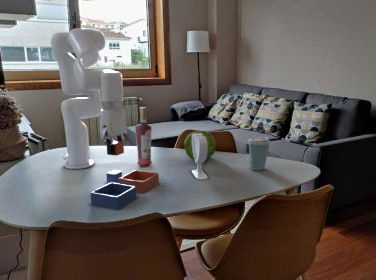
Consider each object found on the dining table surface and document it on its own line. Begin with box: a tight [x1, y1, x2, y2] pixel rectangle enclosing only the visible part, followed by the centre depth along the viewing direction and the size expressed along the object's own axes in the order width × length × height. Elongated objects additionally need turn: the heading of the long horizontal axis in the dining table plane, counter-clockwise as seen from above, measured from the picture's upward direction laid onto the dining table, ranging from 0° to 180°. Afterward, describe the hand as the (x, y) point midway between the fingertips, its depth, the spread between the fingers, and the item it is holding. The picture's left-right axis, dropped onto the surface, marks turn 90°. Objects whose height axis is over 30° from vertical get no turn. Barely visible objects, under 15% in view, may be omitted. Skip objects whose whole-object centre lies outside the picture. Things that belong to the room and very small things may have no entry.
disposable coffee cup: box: [247, 136, 271, 171], centre depth 169 cm, size 11×11×15 cm
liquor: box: [134, 106, 153, 168], centre depth 167 cm, size 7×7×28 cm
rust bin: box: [118, 169, 160, 194], centre depth 143 cm, size 11×11×4 cm
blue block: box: [105, 169, 123, 184], centre depth 147 cm, size 4×4×4 cm
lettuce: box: [184, 130, 217, 160], centre depth 183 cm, size 16×21×15 cm
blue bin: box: [90, 182, 137, 211], centre depth 129 cm, size 11×11×4 cm
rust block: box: [113, 140, 125, 156], centre depth 135 cm, size 4×4×4 cm
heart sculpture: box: [191, 133, 208, 180], centre depth 158 cm, size 16×5×18 cm, turn 18°
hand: (115, 152), depth 136 cm, fingers closed on rust block, 4 cm apart
